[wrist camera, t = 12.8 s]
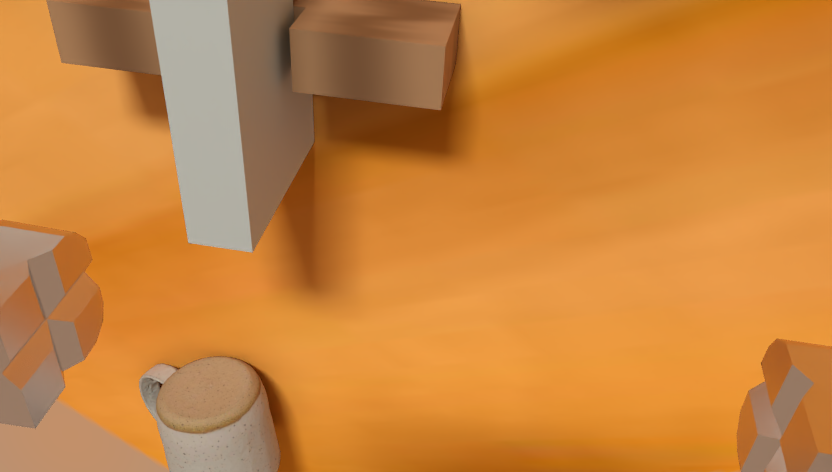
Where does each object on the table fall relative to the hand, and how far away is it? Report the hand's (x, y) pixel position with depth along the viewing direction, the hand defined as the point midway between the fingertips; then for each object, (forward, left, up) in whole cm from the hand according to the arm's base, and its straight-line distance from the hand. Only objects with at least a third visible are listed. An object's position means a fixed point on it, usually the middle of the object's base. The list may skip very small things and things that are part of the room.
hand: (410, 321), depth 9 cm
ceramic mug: (+4, +41, -29) cm, 51 cm away
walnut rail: (+8, +12, -29) cm, 32 cm away
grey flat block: (+8, +12, -29) cm, 32 cm away
